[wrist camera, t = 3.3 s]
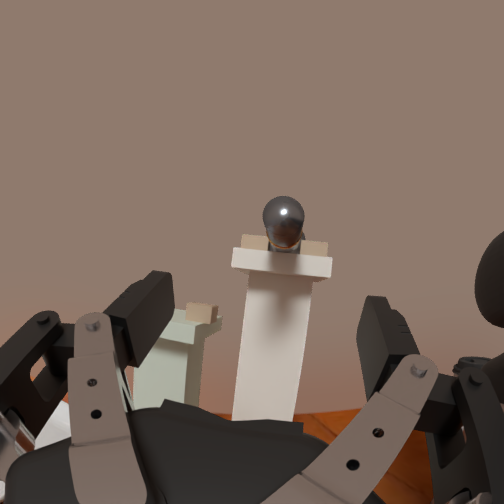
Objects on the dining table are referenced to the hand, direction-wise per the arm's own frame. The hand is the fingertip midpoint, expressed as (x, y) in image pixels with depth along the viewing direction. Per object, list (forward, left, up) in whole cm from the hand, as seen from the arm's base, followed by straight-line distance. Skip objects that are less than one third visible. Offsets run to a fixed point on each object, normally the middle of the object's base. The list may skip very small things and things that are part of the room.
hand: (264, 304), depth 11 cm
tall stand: (0, -24, -26) cm, 35 cm away
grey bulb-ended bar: (0, -19, +4) cm, 20 cm away
